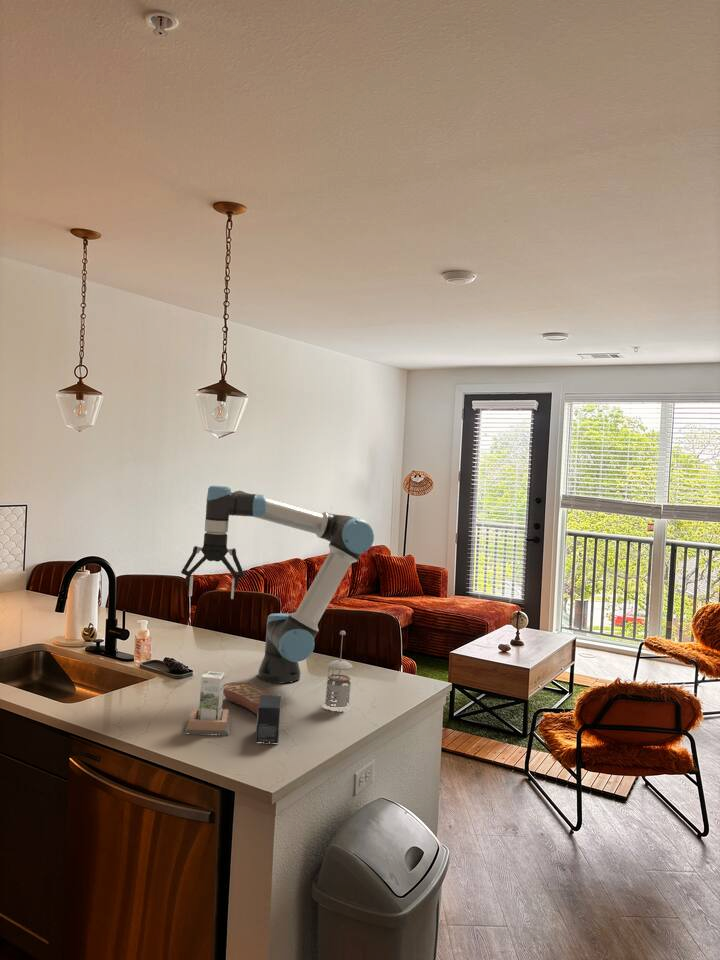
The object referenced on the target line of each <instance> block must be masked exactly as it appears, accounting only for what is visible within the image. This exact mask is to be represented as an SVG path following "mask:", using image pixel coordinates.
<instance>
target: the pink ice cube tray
mask: <svg viewBox="0 0 720 960" xmlns="http://www.w3.org/2000/svg"><path fill="white" fill-rule="evenodd" d="M260 695H274V694H273V693H271V692H270V691H267V690H266V689H263V688H261V687H258V686H255V685H252V684H250V683H249V684H248V683H245V682H241V681H240V682H238V681H236V682H235V681H233V682H228V683H224V689H223V697H225V698H226V699H227V700H228V701H229V702H231V703H234V704H236V705H239V706H242V707H243V708H246V709H248V710H249V711H251V712H253V713H254V714H255V715H257V713H258V706H259V700H260Z"/></svg>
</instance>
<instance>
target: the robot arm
mask: <svg viewBox="0 0 720 960" xmlns="http://www.w3.org/2000/svg"><path fill="white" fill-rule="evenodd" d="M230 516H237V517H239V516H240V517H253V518H256V519H261V520H264V521H268V522H270V523H274V524H279V525H282V526H285V527H290V528H292V529H297V530H299V531H305V532H308V533H310V534H311V533H312V534H315V535H316V537H317V538H318V539H322V540H326V541H327V542H330V543H329V544H328V548H329V552H328V554H327V556H326V558H325V560H324V561H323V564H322V565H321V567H320V568H319V571H318V572H317V574H316V575H315V577H314V579H313V581H312V583H311V585H310V587H309V588H308V590H307V592H306V593H305V595H304V596H303V598H302V600H301V602H300V604H299V606H298V607H297V609H296V611H295V612H292V613H287V612H284V613H283V612H282V613H281V612H280V613H279V612H278V613H271V614H269V615H268V616H267V622H266V633H265V646H264V647H265V648H264V649H265V650H264V655H263V659H262V661H261V664H260V666H259V669H258V676H259V677H258V678H259V679H260V678H261V679H260V680H262V679H263V680H262V681H264V680H266V681H265V682H268V681H271V682H270V683H273V682H291V681H295V680H298V679H299V678H300V679H301V668H300V664H299V662H303V661H305V660H307V659H308V658H310V656H311V655H312V654H313V651H314V649H315V639H316V636H317V635H318V633H319V627H318V625H319V622H320V620H321V618H322V617H323V614H324V613H325V611H326V609H327V608H328V606H329V604H330V602H331V600H332V599H333V597H334V595H335V593H336V591H337V590H338V588H339V587H340V584H341V582H342V581H343V579H344V577H345V576H346V573H347V572H348V570H349V568H350V566H351V565H352V564H353V563H357V562H358V561H359V559H360V558H361V556H362V554H363V553H366V552H368V550H370V549H371V548H372V546H373V544H374V539H375V535H374V529H373V528H372V526H371V525H370V524H369V522H367V521H366V520H364V519H362V518H360V517H354V516H351V515H343V514H334V513H330V512H326V511H324V512H321V513H320V512H316V511H312V510H308V509H305V508H302V507H297V506H295V505H291V504H288V503H283V502H280V501H278V500H275V499H269V498H267V497H266V496H265V495H264V494H259V493H248V492H246V491H243V490H236V491H233V492H232V488H231V487H230V486H224V485H223V486H222V485H211V486H209V487H208V489H207V494H206V506H205V521H204V534H203V545H202V547H200V546H197V545H195V546H193V548H192V553H191V555H190V557H189V558H188V560H187V562H186V563H185V565H184V566H183V568H182V569H181V575H185V576H186V580H185V581H186V582H185V585H186V586H187V587H189V588H188V597H189V598H190V597H192V596H193V588H194V587H193V584H194V575H192V574H194V573H195V572H196V570H197V569H198V568H200V566H201V565H202V564H203V563H204V562H205V561H206V560H207V561H209V562H213V561H214V562H222V563H223V565H224V566H225V567H226V569H227V570H228V571H229V572H230V573H231V575H232V576H233V577H232V579H231V590H230V591H231V592H230V599H231V600H234V597H235V596H234V595H235V589H238V588H239V579H241V578H244V577H245V572H244V570H243V568H242V565H241V563H240V561H239V558H238V556H237V549H236V548H235V547H233V548H228V532H229V518H230ZM200 552H202V554H203V556H202V557H201V558H200V559H199V560H198V562H196V564H194V566H193V567H192V568H191V569H189V567H190V565H191V563H192V562H193V561H194V559H195V557H196V555H197V554H199V553H200ZM228 553H229V555H230V556H232V559H233V562H234V564H235V566H236V569H237V571H236V570H235V568H234V567H233V566H232V565H231V563H230V562H229V560H228V558H227V557H226V555H227V554H228ZM188 569H189V570H188ZM237 572H238V573H237ZM300 679H299V680H300ZM299 680H298V681H299ZM295 682H296V681H295ZM291 683H292V682H291Z"/></svg>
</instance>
